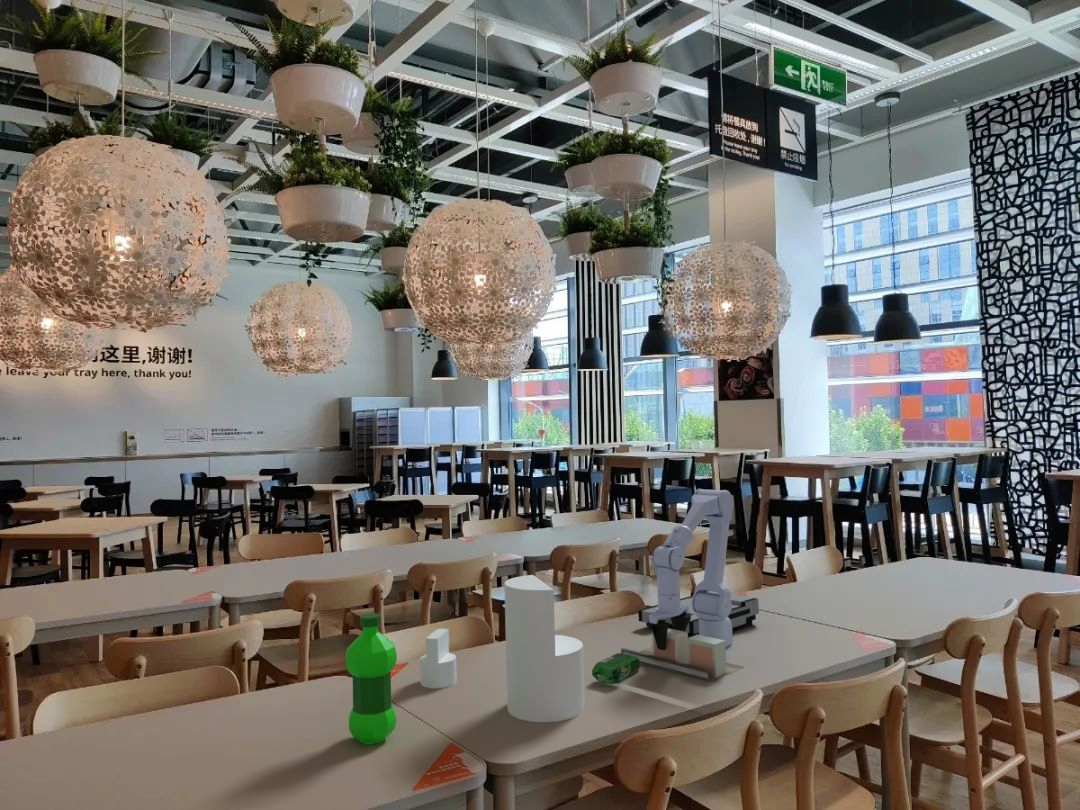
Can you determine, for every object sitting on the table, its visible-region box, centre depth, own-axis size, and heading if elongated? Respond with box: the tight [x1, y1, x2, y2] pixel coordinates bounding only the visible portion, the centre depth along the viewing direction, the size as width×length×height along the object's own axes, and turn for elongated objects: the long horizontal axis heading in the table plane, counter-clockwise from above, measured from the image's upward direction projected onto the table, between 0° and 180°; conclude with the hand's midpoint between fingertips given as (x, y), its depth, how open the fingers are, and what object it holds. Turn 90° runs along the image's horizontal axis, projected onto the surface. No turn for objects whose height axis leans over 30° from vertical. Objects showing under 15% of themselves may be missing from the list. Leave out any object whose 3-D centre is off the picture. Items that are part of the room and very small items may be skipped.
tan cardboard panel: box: [620, 646, 745, 683], centre depth 197 cm, size 15×28×4 cm, turn 44°
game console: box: [637, 590, 760, 638], centre depth 233 cm, size 21×32×8 cm, turn 131°
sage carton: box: [687, 635, 727, 678], centre depth 189 cm, size 5×8×8 cm, turn 44°
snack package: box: [591, 652, 641, 685], centre depth 188 cm, size 7×16×5 cm, turn 142°
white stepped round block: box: [504, 574, 585, 723], centre depth 171 cm, size 17×17×28 cm
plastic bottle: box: [345, 613, 398, 745], centre depth 156 cm, size 10×10×25 cm
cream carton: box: [651, 628, 689, 664], centre depth 197 cm, size 5×8×8 cm, turn 45°
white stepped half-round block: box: [419, 628, 458, 689], centre depth 189 cm, size 9×9×12 cm
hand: (670, 646), depth 197 cm, fingers open, 7 cm apart
